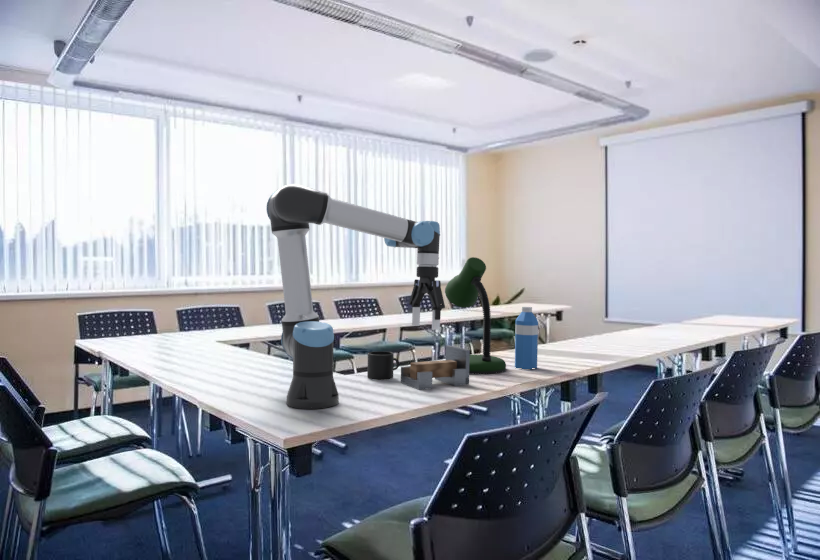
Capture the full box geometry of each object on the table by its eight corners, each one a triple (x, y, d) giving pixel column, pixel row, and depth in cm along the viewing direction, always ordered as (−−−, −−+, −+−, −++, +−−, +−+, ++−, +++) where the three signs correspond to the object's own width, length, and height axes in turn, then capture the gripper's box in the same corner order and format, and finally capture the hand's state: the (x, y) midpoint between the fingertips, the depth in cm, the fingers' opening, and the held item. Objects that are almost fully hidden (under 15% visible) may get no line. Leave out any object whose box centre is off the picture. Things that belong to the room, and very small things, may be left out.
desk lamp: (430, 362, 237) (432, 257, 236) (476, 360, 246) (478, 258, 245) (465, 376, 209) (467, 256, 208) (516, 372, 218) (518, 257, 217)
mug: (403, 378, 202) (404, 354, 202) (372, 381, 197) (372, 355, 197) (394, 374, 211) (394, 350, 210) (364, 376, 206) (364, 351, 206)
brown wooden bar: (416, 379, 189) (416, 364, 189) (410, 376, 193) (410, 362, 193) (456, 375, 196) (456, 361, 196) (449, 373, 200) (450, 359, 200)
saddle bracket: (419, 389, 184) (419, 373, 184) (400, 382, 195) (400, 366, 195) (432, 388, 186) (432, 372, 186) (413, 381, 198) (413, 365, 198)
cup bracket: (454, 386, 191) (455, 351, 191) (434, 379, 202) (435, 346, 202) (469, 384, 194) (469, 350, 194) (448, 377, 205) (449, 345, 205)
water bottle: (510, 366, 232) (511, 306, 231) (530, 365, 234) (531, 306, 234) (521, 370, 223) (522, 307, 222) (541, 369, 226) (543, 307, 225)
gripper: (456, 266, 183) (454, 331, 184) (419, 266, 205) (417, 323, 205) (437, 265, 180) (434, 331, 180) (401, 265, 202) (399, 324, 202)
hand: (425, 327), depth 193 cm, fingers open, 13 cm apart
